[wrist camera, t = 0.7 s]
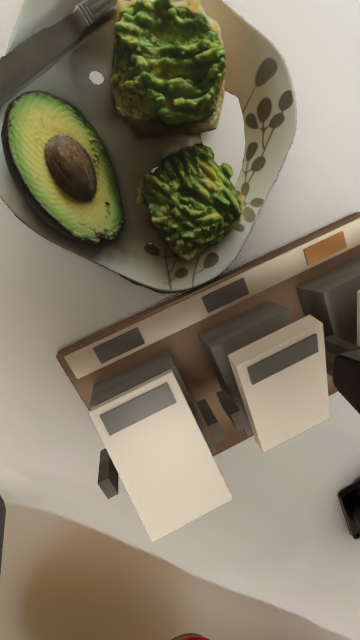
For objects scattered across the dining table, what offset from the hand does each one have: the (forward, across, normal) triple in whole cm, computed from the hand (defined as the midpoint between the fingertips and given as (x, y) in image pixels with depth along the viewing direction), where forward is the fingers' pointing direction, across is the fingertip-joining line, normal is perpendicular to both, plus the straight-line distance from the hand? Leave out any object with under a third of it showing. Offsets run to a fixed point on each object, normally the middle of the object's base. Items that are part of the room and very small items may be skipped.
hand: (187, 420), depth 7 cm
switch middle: (+6, -7, +6) cm, 12 cm away
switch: (+7, 0, +8) cm, 11 cm away
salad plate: (+15, -4, -8) cm, 18 cm away
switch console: (+12, -8, +7) cm, 16 cm away
